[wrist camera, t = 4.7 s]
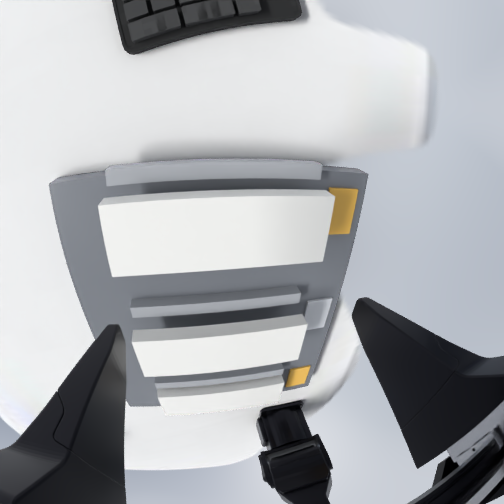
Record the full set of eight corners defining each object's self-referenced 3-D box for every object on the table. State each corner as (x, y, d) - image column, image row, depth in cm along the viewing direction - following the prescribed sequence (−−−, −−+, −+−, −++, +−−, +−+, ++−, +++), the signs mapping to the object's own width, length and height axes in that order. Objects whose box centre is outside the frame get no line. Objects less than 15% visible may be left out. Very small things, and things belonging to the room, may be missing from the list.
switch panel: (358, 161, 20) (377, 170, 17) (303, 379, 33) (309, 394, 31) (56, 169, 15) (41, 179, 12) (131, 398, 28) (131, 415, 26)
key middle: (302, 313, 21) (307, 324, 20) (293, 349, 24) (297, 359, 23) (132, 330, 18) (131, 341, 17) (145, 365, 21) (144, 376, 20)
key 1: (281, 373, 27) (284, 382, 26) (276, 394, 30) (278, 402, 29) (157, 387, 24) (157, 397, 23) (165, 407, 27) (165, 416, 26)
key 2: (326, 190, 16) (335, 196, 15) (315, 252, 19) (322, 261, 18) (103, 198, 13) (97, 205, 12) (115, 265, 16) (112, 277, 15)
